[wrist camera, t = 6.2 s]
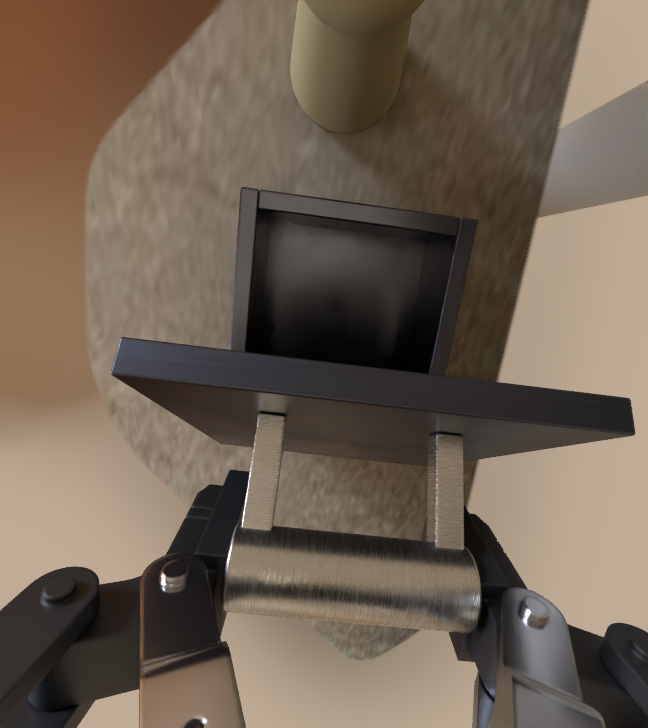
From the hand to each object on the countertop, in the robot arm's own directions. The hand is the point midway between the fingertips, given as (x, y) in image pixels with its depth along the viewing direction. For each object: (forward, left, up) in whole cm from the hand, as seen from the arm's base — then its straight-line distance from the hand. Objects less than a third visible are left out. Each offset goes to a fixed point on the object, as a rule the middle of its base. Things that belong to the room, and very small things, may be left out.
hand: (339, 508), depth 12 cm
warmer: (-3, -3, -14) cm, 14 cm away
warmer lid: (-1, -2, -2) cm, 3 cm away
